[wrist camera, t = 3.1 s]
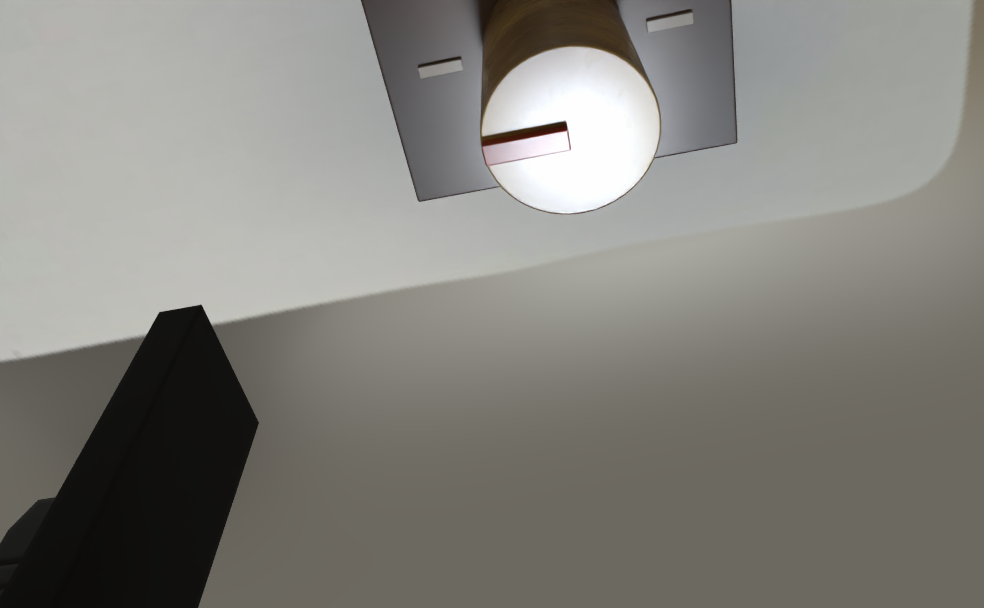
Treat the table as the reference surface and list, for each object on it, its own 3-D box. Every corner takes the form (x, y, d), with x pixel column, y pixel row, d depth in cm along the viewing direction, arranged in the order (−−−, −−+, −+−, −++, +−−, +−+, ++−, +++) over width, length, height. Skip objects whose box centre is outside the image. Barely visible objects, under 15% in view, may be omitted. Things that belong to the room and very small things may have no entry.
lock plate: (702, -168, 26) (726, -156, 23) (718, 110, 31) (738, 145, 28) (354, -89, 27) (339, -68, 24) (423, 166, 32) (417, 204, 29)
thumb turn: (615, -44, 25) (654, 30, 19) (631, 98, 27) (671, 203, 21) (469, -12, 25) (461, 69, 19) (498, 124, 28) (499, 234, 22)
